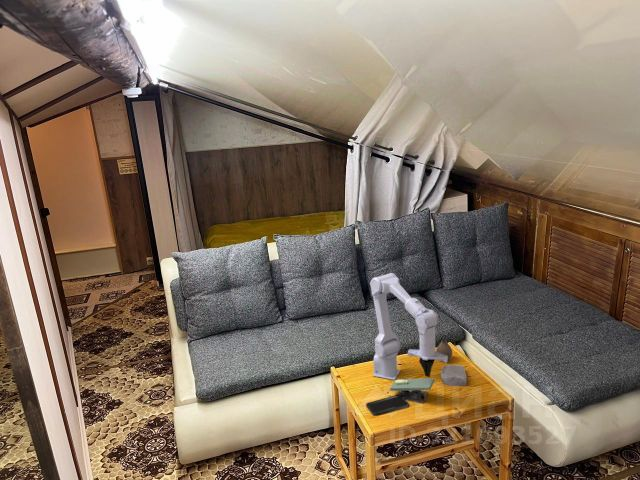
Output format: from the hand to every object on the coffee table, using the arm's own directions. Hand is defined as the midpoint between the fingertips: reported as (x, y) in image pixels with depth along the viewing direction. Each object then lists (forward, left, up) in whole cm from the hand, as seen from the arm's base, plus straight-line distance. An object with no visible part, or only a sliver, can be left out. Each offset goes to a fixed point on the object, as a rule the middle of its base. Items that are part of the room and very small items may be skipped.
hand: (427, 375), depth 174 cm
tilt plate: (-6, 0, -6) cm, 8 cm away
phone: (-13, -10, -11) cm, 19 cm away
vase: (-1, +32, -10) cm, 34 cm away
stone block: (+6, +19, -11) cm, 22 cm away
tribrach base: (-6, 0, -10) cm, 12 cm away
